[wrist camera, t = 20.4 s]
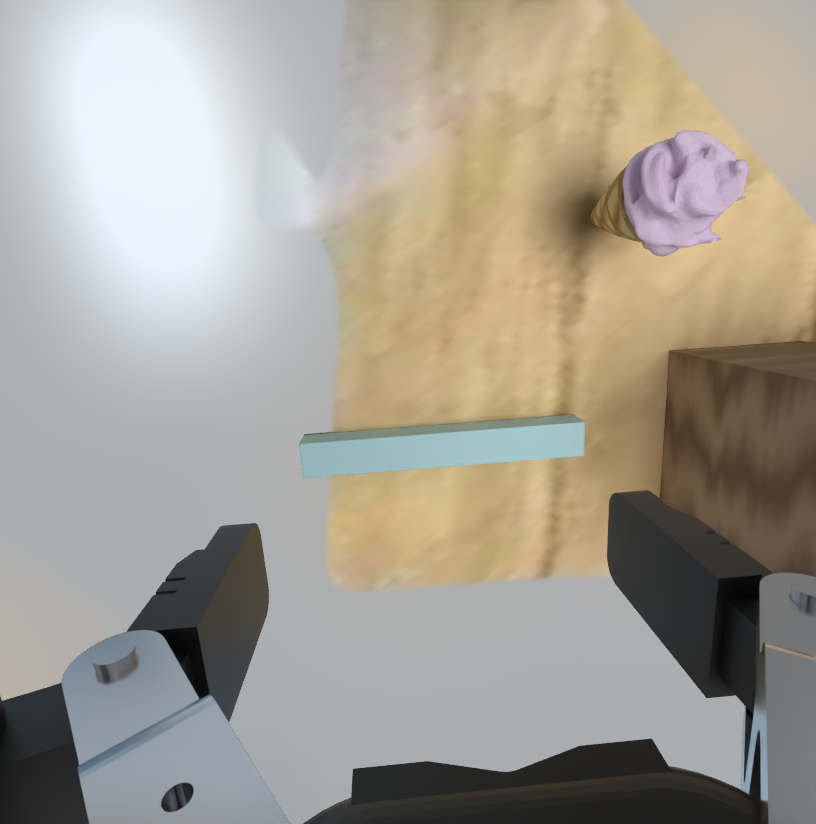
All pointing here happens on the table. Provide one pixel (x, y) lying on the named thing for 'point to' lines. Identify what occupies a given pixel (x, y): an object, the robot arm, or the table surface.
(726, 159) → the ice cream cone
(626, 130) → the table surface
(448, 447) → the peg
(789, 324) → the table surface
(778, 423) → the plinth
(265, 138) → the table surface
